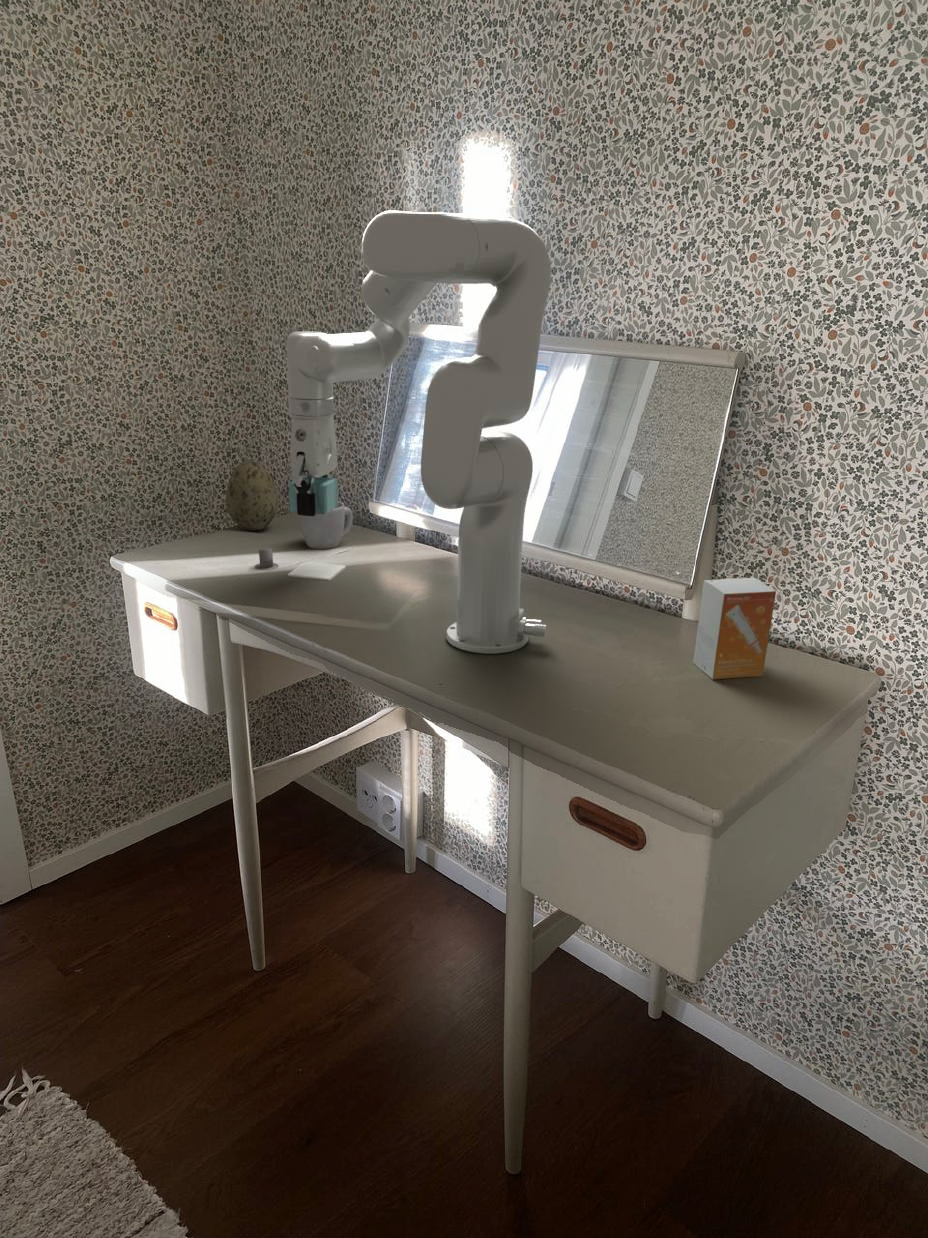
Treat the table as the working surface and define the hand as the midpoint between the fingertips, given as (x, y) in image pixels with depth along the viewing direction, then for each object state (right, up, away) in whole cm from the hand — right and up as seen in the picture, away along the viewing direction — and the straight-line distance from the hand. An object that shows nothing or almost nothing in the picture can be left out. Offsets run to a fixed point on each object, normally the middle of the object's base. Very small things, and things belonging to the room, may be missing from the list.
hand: (314, 509), depth 164 cm
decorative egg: (-19, 0, +35) cm, 40 cm away
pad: (0, -11, +4) cm, 12 cm away
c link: (0, 0, 0) cm, 0 cm away
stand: (-5, -12, +6) cm, 14 cm away
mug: (-1, -6, +22) cm, 23 cm away
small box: (+65, -27, -30) cm, 76 cm away
